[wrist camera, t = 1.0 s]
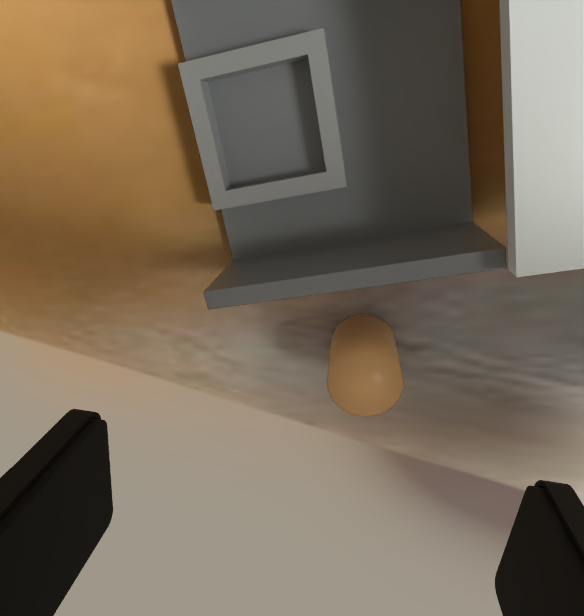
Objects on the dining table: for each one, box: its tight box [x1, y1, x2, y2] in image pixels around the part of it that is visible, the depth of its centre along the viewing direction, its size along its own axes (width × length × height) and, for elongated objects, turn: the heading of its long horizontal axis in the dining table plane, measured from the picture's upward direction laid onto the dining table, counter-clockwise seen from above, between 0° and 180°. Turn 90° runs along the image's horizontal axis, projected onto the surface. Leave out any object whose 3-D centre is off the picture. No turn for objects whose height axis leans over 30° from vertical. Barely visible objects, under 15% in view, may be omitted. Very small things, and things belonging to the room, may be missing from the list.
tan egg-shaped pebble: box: [327, 314, 403, 416], centre depth 30 cm, size 4×4×6 cm
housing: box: [171, 0, 506, 310], centre depth 24 cm, size 15×17×7 cm
